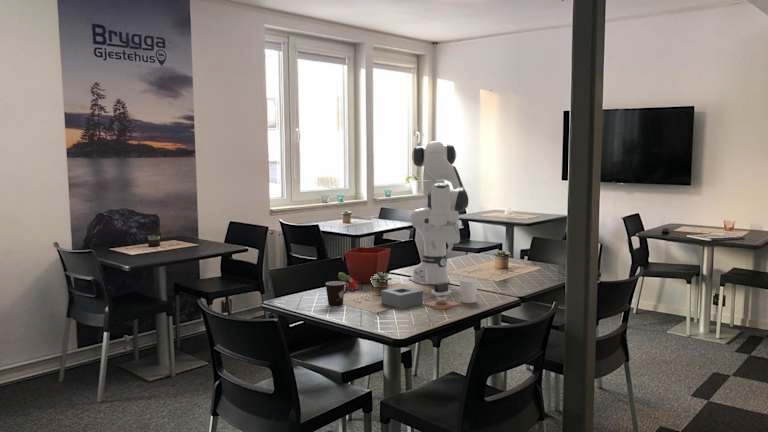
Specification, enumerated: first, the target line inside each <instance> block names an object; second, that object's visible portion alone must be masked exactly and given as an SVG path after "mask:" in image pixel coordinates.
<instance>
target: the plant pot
mask: <svg viewBox="0 0 768 432" xmlns="http://www.w3.org/2000/svg"><path fill="white" fill-rule="evenodd" d="M343 254H344V259H345V263H346V264H345V265H346V268H347V271H348V275H349V276H350V277H351V278H352V279H353V277H354V280H355V281H358V282H357V284H363V283H365V284H367V285H372V284H371V280H370V278H371V276H372V275H374V274H376V273H378V272H384V273H386V274H387V270H388V266H389V262H390V256H391V248H387V247H370V246H369V247H367V246H366V247H365V246H364V247H363V246H358V247H354V248H351V249H349V250H346V251H344V252H343ZM355 278H356V279H355ZM365 284H364V285H365Z"/></svg>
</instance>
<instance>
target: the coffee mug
mask: <svg viewBox="0 0 768 432" xmlns="http://www.w3.org/2000/svg"><path fill="white" fill-rule="evenodd" d="M325 289H326V295H327V296H326V297H327V303H328V306H329V305H330V306H340V305H344V298H345V296H344V295H345V294H346V292H347V290H348V289H347V284H346V283H345V282H343V281H342V280H340V281H339V280H336V281H335V280H334V281H327V282H325ZM330 306H329V307H330ZM340 307H341V306H340Z"/></svg>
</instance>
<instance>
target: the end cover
mask: <svg viewBox="0 0 768 432" xmlns="http://www.w3.org/2000/svg"><path fill="white" fill-rule="evenodd" d="M433 287H434V289H432V290H431V291H430V294H431V296H434V297H435V301H436V304H437V305H446V304H447V301H448V297H449V296H452V294H453V293H452V290H451V289H449V282H448V283H447V282H442V283H437V284H433Z"/></svg>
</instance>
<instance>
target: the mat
mask: <svg viewBox="0 0 768 432" xmlns="http://www.w3.org/2000/svg"><path fill="white" fill-rule="evenodd" d="M423 305H424V306H425V307H429V308H433V309H435V310H440V311H441V310H446V309H447V310H448V309H452V308H455V307H459V306H460V303H457V302H453V301H450V300H447V304H446V305H437V304H436V300H433V301H429V302H425V303H424V302H423Z"/></svg>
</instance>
